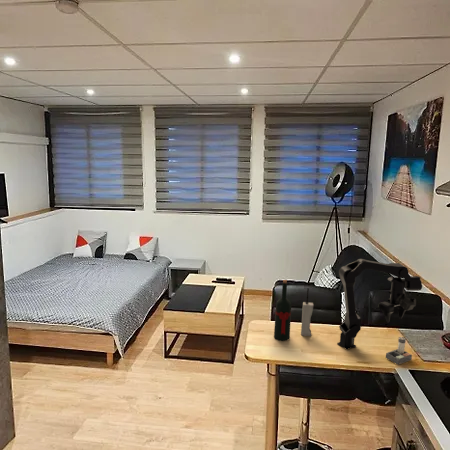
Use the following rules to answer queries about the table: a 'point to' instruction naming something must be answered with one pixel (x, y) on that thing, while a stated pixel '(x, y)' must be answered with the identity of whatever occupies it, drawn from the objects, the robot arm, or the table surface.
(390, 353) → the grey compartment tray
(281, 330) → the wine bottle
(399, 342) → the plug
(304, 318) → the vintage mobile phone
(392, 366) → the table surface
